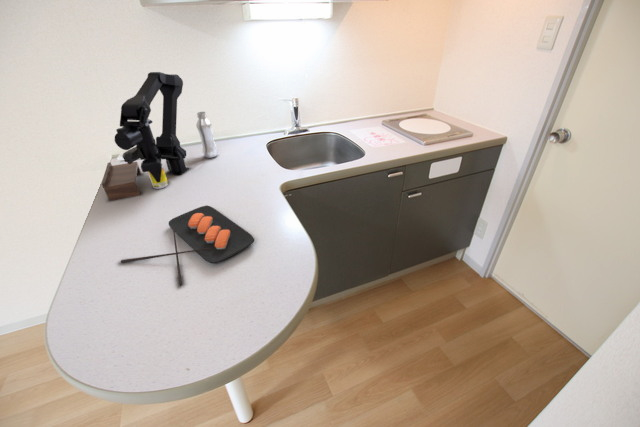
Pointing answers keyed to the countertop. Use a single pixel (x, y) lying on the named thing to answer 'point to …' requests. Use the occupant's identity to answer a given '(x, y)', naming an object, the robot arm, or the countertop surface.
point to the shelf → (121, 180)
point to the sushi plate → (207, 236)
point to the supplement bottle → (162, 182)
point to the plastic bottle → (206, 135)
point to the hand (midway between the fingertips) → (158, 178)
